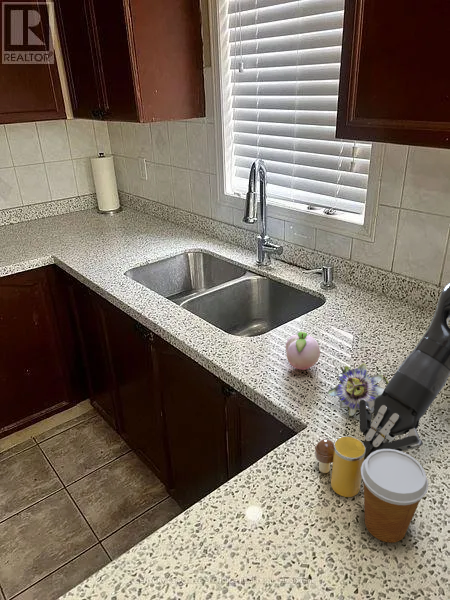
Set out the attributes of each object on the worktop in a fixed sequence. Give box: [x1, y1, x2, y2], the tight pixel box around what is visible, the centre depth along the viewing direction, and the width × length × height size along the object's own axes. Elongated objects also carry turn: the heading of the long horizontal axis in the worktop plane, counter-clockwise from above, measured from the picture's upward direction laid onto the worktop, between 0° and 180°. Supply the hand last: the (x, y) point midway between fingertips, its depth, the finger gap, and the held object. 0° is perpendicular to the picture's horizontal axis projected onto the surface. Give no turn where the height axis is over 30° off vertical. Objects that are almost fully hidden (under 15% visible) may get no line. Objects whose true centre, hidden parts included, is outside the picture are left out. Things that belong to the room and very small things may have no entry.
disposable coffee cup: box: [361, 449, 429, 544], centre depth 69 cm, size 10×10×12 cm
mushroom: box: [314, 438, 334, 474], centre depth 81 cm, size 4×4×7 cm
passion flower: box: [327, 362, 390, 417], centre depth 97 cm, size 11×11×12 cm
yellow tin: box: [330, 435, 366, 498], centre depth 77 cm, size 5×5×9 cm
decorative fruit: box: [285, 331, 321, 370], centre depth 109 cm, size 9×8×10 cm
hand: (360, 462), depth 78 cm, fingers closed
